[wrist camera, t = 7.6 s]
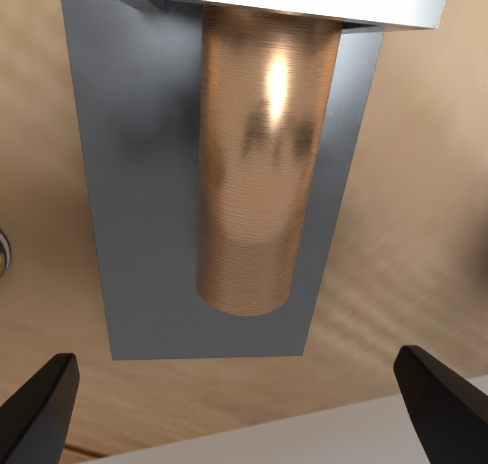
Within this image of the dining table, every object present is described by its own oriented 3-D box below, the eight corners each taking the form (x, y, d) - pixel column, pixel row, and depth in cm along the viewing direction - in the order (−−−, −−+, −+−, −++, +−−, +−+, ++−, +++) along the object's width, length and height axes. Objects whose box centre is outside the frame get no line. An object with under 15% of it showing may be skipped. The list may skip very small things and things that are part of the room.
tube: (186, -214, 10) (264, -369, 6) (320, -158, 12) (445, -247, 8) (183, 264, 18) (215, 329, 14) (262, 251, 20) (309, 304, 16)
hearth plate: (432, -202, 12) (447, -217, 11) (299, 347, 25) (301, 355, 24) (29, -293, 10) (15, -319, 9) (115, 350, 23) (112, 360, 22)
